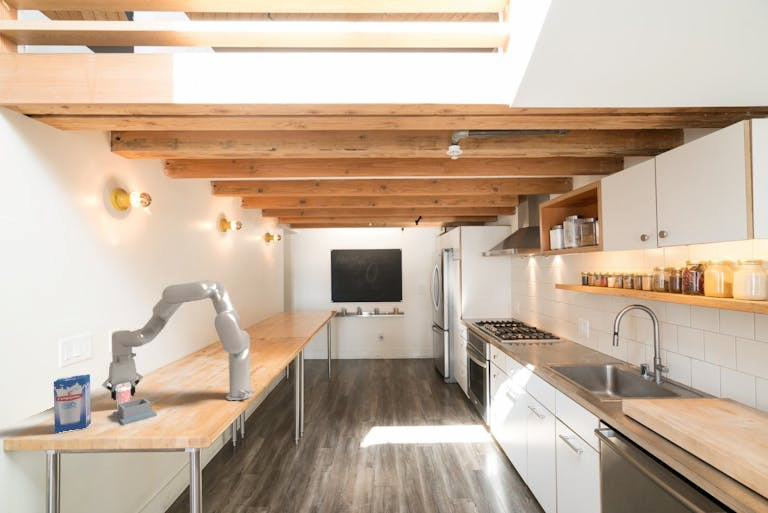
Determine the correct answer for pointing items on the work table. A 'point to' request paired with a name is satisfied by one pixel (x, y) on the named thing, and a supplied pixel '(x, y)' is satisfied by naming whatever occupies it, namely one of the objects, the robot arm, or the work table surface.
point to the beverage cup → (123, 394)
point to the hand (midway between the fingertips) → (123, 397)
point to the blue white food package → (72, 403)
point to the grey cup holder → (134, 411)
